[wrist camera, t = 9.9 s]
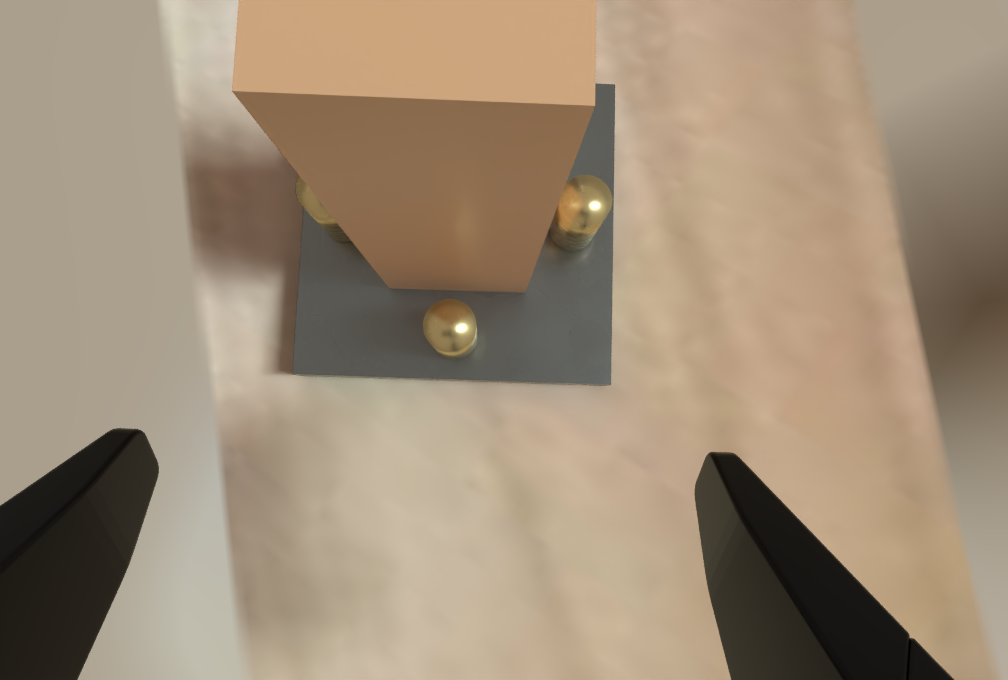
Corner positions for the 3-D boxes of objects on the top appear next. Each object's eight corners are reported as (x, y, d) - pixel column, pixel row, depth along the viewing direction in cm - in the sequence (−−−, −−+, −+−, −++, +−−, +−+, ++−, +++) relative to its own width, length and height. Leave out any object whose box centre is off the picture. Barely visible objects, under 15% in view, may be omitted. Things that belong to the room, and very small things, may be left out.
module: (525, 292, 21) (595, 105, 8) (389, 288, 21) (231, 91, 8) (528, 162, 21) (598, -218, 8) (395, 157, 21) (256, -237, 8)
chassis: (605, 385, 22) (632, 380, 18) (300, 375, 21) (259, 368, 17) (609, 98, 23) (636, 33, 19) (320, 85, 22) (285, 15, 18)
